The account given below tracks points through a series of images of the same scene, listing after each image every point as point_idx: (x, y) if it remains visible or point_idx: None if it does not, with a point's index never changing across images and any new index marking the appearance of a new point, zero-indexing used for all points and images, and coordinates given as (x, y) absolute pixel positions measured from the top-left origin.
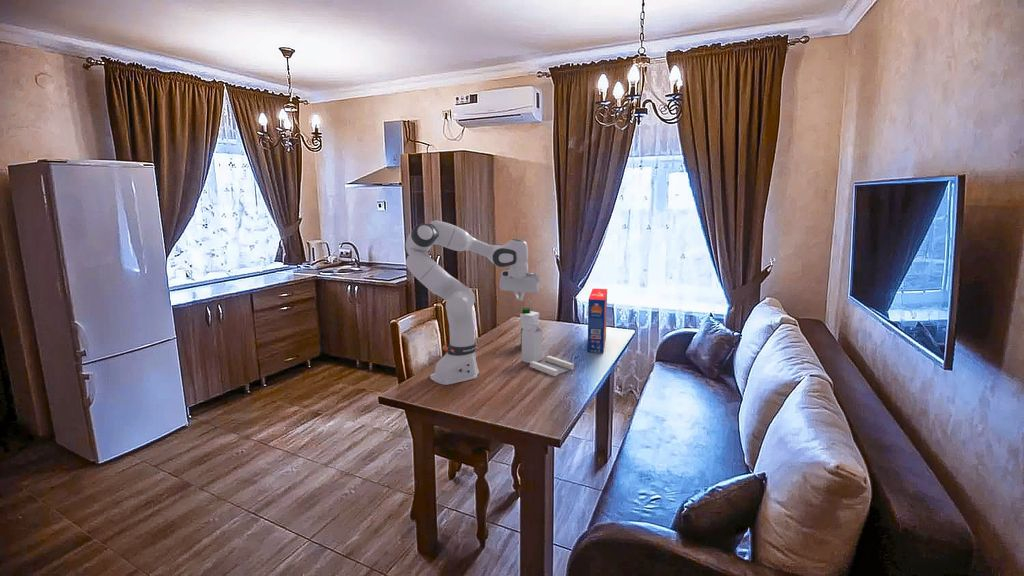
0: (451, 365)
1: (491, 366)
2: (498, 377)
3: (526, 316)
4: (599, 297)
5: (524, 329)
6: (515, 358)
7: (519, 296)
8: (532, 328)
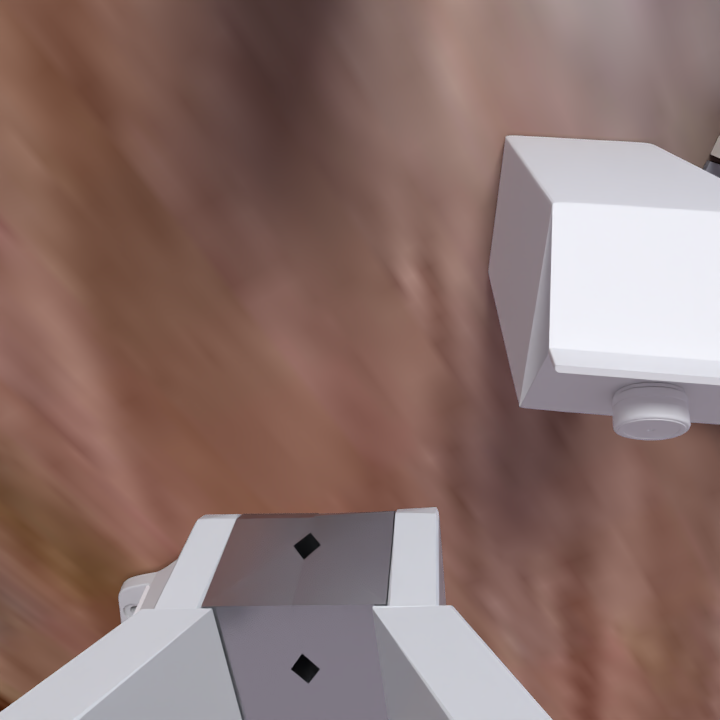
0: None
1: (330, 466)
2: (488, 593)
3: None
4: None
5: (556, 393)
6: (395, 229)
7: (263, 617)
8: (702, 388)
